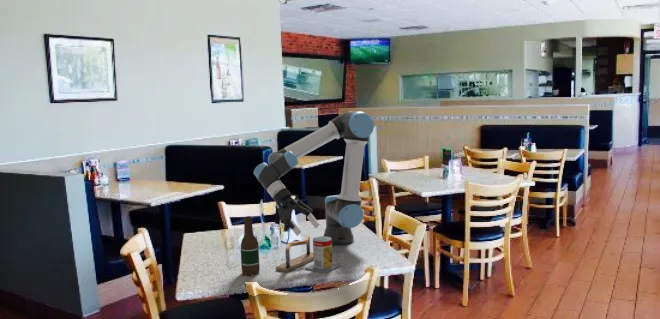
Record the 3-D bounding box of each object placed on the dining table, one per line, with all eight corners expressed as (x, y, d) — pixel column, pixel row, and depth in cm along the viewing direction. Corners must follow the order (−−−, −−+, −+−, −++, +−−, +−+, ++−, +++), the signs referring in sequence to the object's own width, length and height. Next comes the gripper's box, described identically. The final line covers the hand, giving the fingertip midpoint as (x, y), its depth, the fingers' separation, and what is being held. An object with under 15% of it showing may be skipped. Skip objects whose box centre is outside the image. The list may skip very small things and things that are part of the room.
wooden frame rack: (309, 255, 261) (308, 234, 260) (320, 256, 258) (319, 236, 256) (276, 270, 241) (274, 247, 240) (287, 272, 238) (286, 249, 237)
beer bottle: (263, 270, 241) (260, 215, 238) (255, 276, 234) (251, 219, 231) (246, 269, 244) (243, 214, 240) (238, 275, 236) (234, 218, 233)
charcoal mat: (320, 262, 250) (319, 260, 250) (341, 265, 244) (341, 264, 244) (305, 269, 241) (305, 268, 241) (326, 273, 235) (326, 272, 235)
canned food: (335, 264, 244) (334, 237, 243) (327, 270, 237) (326, 241, 235) (318, 262, 247) (317, 235, 246) (310, 268, 240) (309, 240, 239)
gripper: (292, 193, 262) (320, 228, 256) (256, 204, 242) (286, 242, 235) (300, 182, 259) (329, 218, 252) (265, 192, 238) (295, 231, 232)
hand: (308, 230), depth 244 cm, fingers open, 13 cm apart
